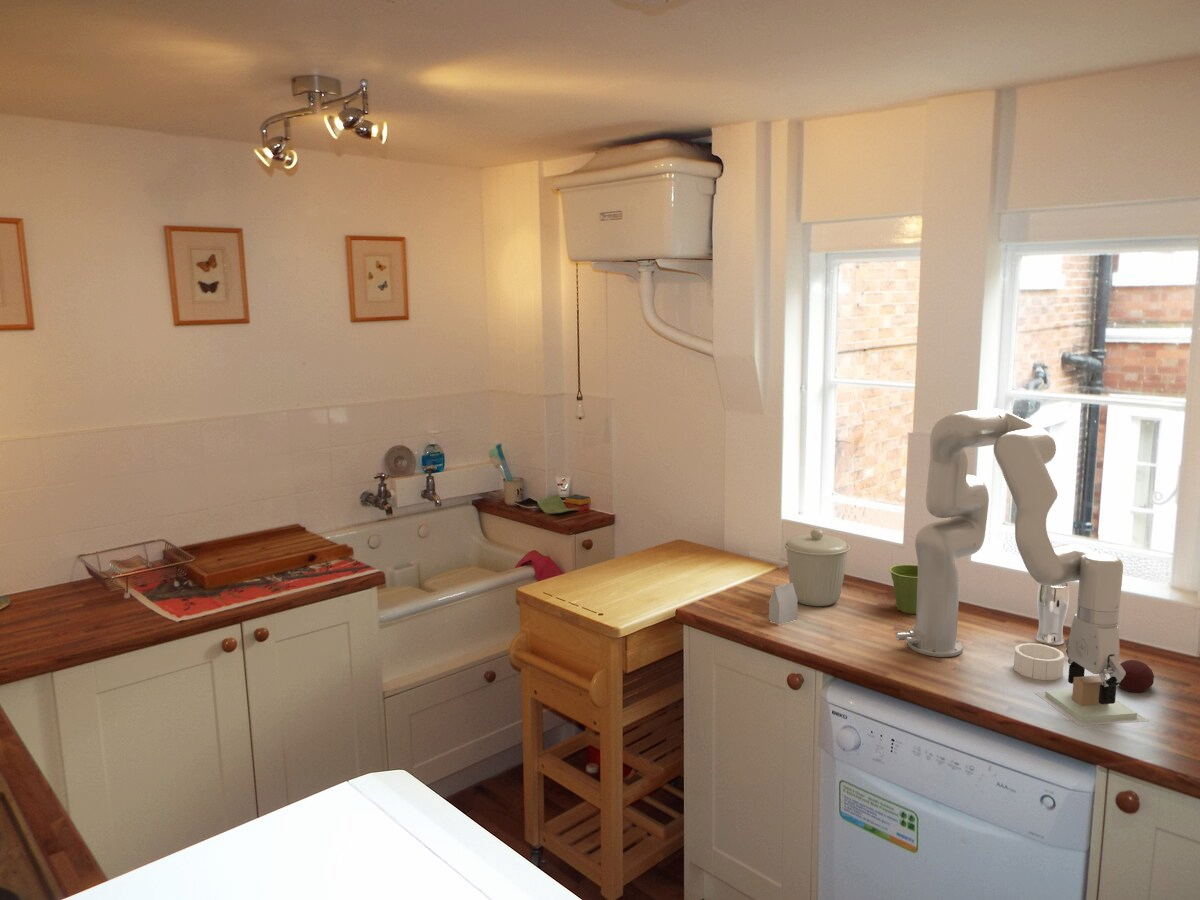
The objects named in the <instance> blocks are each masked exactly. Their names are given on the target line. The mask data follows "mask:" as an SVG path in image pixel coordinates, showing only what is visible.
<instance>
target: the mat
mask: <svg viewBox="0 0 1200 900" xmlns="http://www.w3.org/2000/svg"><path fill="white" fill-rule="evenodd" d="M1034 694H1035V695H1036V696H1038V697H1039V698H1040V699H1041V700H1042V701H1045V702H1046V703H1047V704H1048V705H1050V706H1051V707H1053V708H1054V709H1056V710H1057V711H1058V712H1059V713H1060V714H1062V715H1063V716H1065V717H1066V718H1068V719H1069V720H1071V722H1073V723H1074V724H1076V725H1077V726H1078V727H1084V726H1087V727H1088V726H1097V725H1098V726H1100V725H1114V724H1127V723H1139V722H1149V720H1148V719H1147V718H1145V717H1144V716H1142V715H1141V714H1140V713H1138V712H1136V713H1137V718H1127V719H1113V720H1100V721H1086V722H1081V721H1080V720H1078V719H1077V718H1075V717H1074V716H1073V715H1071V714H1070V713H1069V712H1067V711H1066V710H1064V709H1063V708H1062V707H1060V706H1059V705H1058V704H1056V703H1055V702H1053V701H1052V700H1051V699H1049V698H1048V697H1047V696H1045V691H1042V692H1034ZM1127 707H1128V708H1130V707H1129V706H1127Z"/></svg>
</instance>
